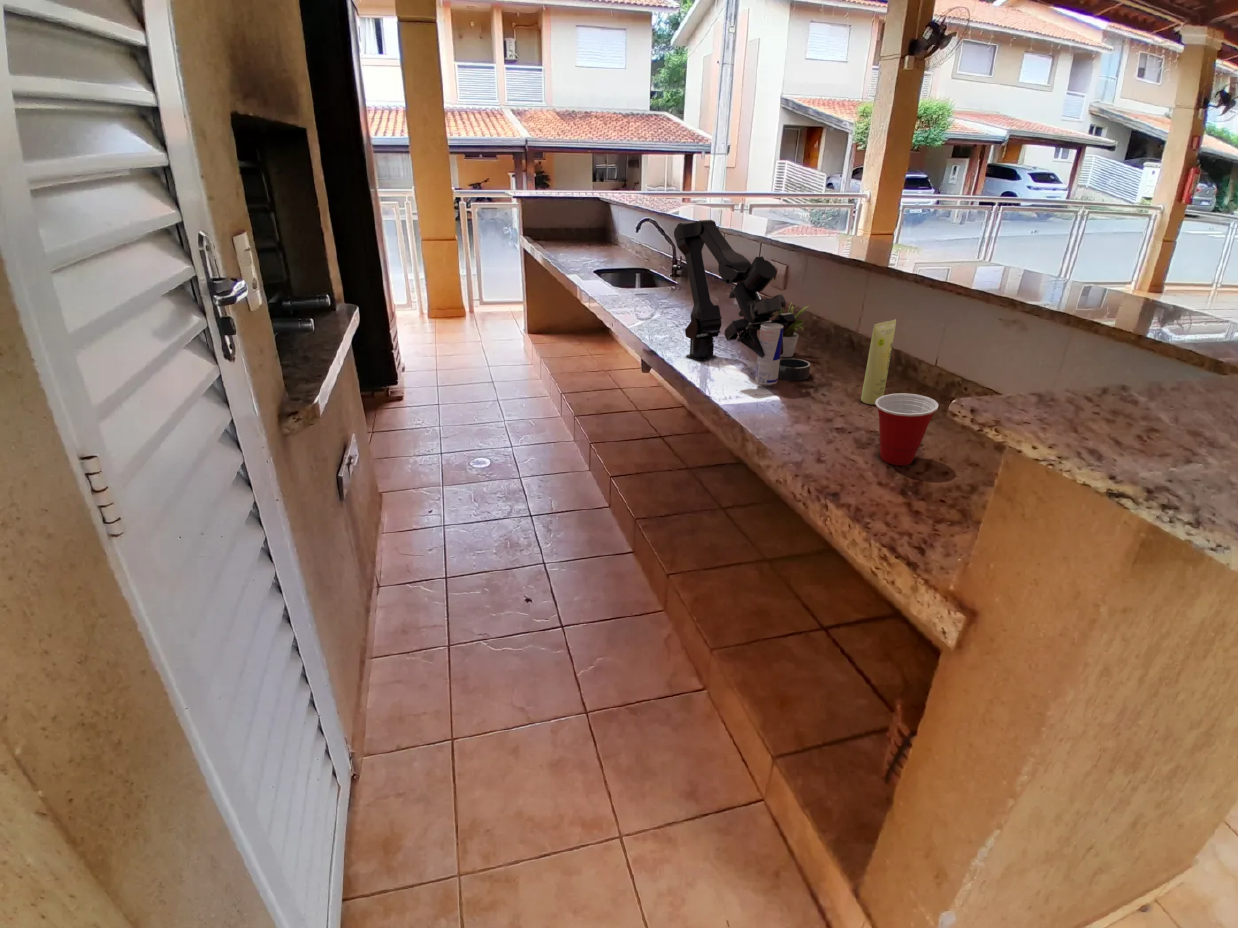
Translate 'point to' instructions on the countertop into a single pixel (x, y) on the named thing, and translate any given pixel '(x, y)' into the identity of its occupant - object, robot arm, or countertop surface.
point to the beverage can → (769, 353)
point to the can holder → (793, 369)
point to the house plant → (791, 333)
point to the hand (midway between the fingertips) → (772, 355)
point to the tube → (878, 361)
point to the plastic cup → (903, 425)
